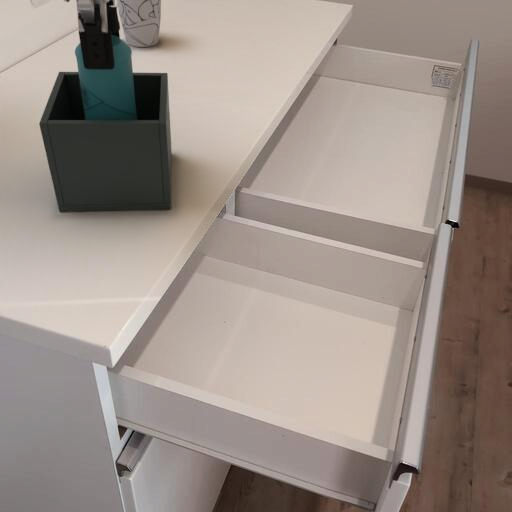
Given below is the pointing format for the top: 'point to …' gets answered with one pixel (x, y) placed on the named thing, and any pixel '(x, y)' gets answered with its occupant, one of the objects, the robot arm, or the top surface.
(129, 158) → the bin
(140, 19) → the mug
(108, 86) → the beverage bottle
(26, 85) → the top surface
